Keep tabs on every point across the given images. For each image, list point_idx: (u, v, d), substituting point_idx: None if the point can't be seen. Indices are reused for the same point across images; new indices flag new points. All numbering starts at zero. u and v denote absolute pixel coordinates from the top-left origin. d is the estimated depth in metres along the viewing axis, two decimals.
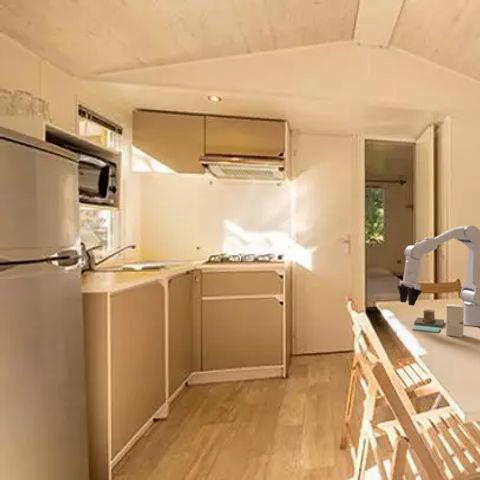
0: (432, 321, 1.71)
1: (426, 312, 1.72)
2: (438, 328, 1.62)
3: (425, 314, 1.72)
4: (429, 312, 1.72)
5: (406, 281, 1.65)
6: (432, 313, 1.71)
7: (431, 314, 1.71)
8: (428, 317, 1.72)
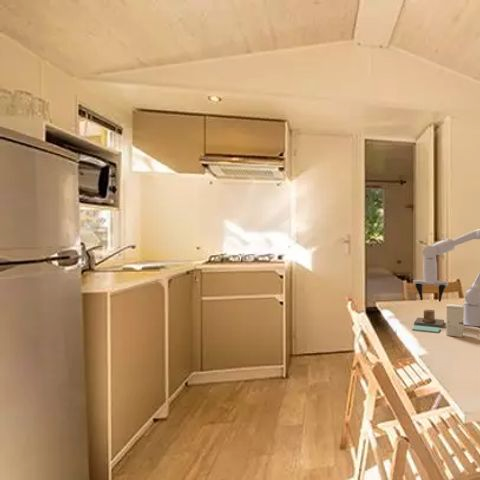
0: (432, 321, 1.71)
1: (426, 312, 1.72)
2: (438, 328, 1.62)
3: (425, 314, 1.72)
4: (429, 312, 1.72)
5: None
6: (432, 313, 1.71)
7: (431, 314, 1.71)
8: (428, 317, 1.72)
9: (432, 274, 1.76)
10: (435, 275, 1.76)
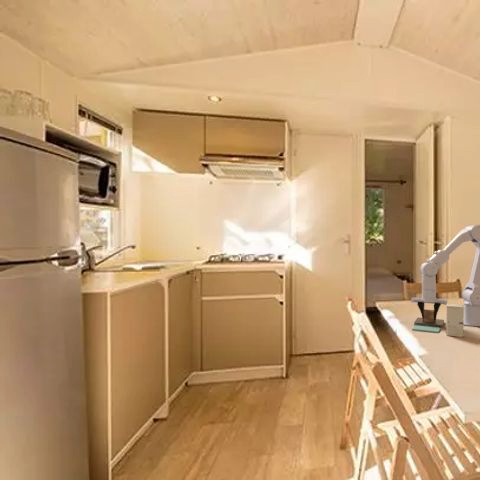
0: (432, 321, 1.71)
1: (426, 312, 1.72)
2: (438, 328, 1.62)
3: (425, 314, 1.72)
4: (429, 312, 1.72)
5: None
6: (432, 313, 1.71)
7: (431, 314, 1.71)
8: (428, 317, 1.72)
9: (431, 292, 1.70)
10: (434, 293, 1.71)
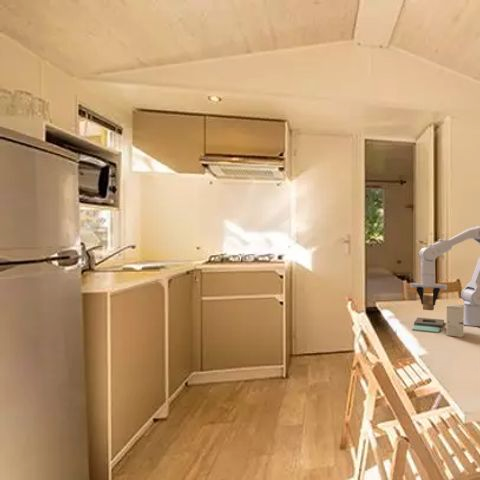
0: (431, 306, 1.69)
1: (425, 297, 1.70)
2: (438, 328, 1.62)
3: (424, 300, 1.71)
4: (428, 297, 1.70)
5: None
6: (431, 298, 1.69)
7: (430, 300, 1.69)
8: (427, 302, 1.70)
9: (430, 277, 1.69)
10: (433, 278, 1.69)
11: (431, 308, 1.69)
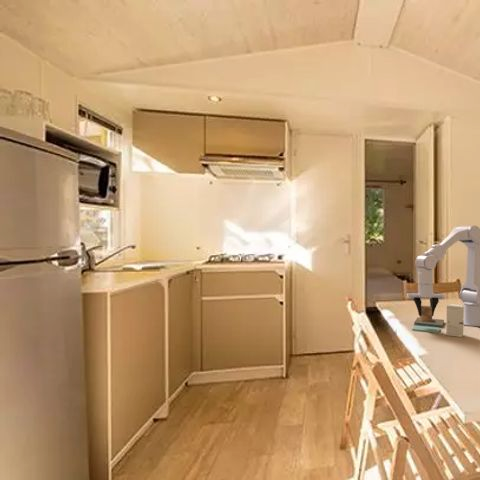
0: (430, 317, 1.61)
1: (424, 308, 1.62)
2: (438, 328, 1.62)
3: (423, 311, 1.62)
4: (427, 308, 1.61)
5: None
6: (430, 309, 1.61)
7: (429, 310, 1.61)
8: (426, 313, 1.62)
9: (430, 287, 1.60)
10: (432, 288, 1.61)
11: (430, 319, 1.61)
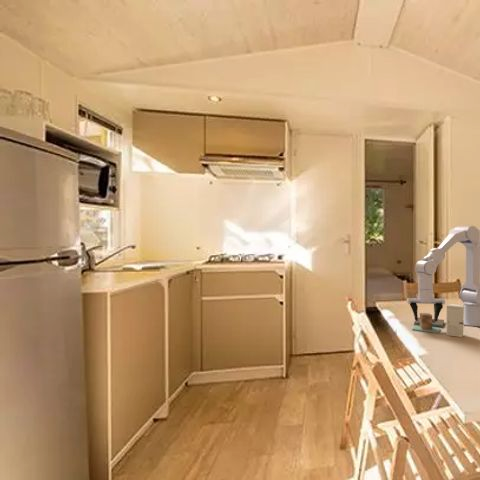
0: (430, 325, 1.61)
1: (424, 316, 1.62)
2: (438, 328, 1.62)
3: (423, 319, 1.62)
4: (427, 316, 1.61)
5: None
6: (430, 317, 1.61)
7: (430, 318, 1.61)
8: (426, 321, 1.62)
9: (430, 292, 1.60)
10: (432, 293, 1.61)
11: (430, 327, 1.61)
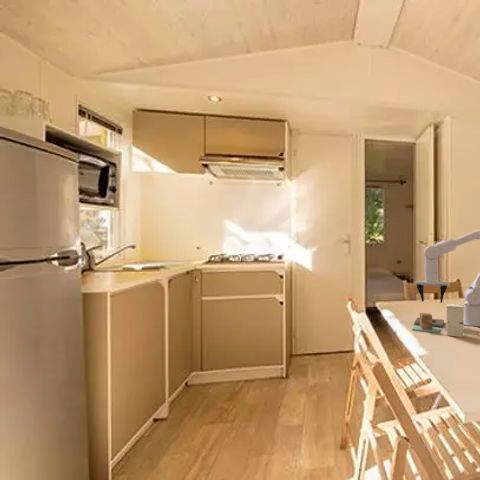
0: (430, 325, 1.61)
1: (424, 316, 1.62)
2: (438, 328, 1.62)
3: (423, 319, 1.62)
4: (427, 316, 1.61)
5: None
6: (430, 317, 1.61)
7: (430, 318, 1.61)
8: (426, 321, 1.62)
9: (434, 275, 1.73)
10: (437, 276, 1.74)
11: (430, 327, 1.61)
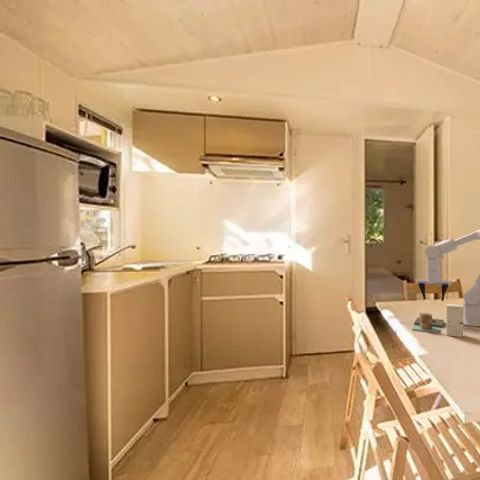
0: (430, 325, 1.61)
1: (424, 316, 1.62)
2: (438, 328, 1.62)
3: (423, 319, 1.62)
4: (427, 316, 1.61)
5: None
6: (430, 317, 1.61)
7: (430, 318, 1.61)
8: (426, 321, 1.62)
9: (435, 274, 1.77)
10: (438, 275, 1.78)
11: (430, 327, 1.61)
